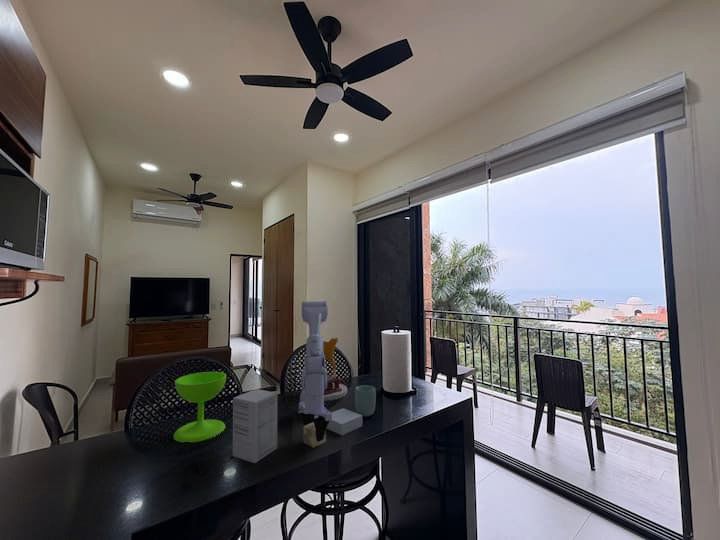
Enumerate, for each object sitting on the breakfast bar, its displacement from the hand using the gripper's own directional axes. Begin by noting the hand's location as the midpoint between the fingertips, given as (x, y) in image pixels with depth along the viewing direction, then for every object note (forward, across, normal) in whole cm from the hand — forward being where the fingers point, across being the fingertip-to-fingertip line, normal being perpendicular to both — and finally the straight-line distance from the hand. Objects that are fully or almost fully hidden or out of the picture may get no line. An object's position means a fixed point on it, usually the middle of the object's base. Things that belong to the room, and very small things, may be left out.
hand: (314, 437), depth 100 cm
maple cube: (+1, 0, 0) cm, 1 cm away
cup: (+2, -3, +27) cm, 27 cm away
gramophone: (+2, -34, +33) cm, 47 cm away
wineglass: (+2, -35, -22) cm, 41 cm away
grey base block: (+2, -2, +14) cm, 14 cm away
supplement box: (+2, -8, -16) cm, 18 cm away
